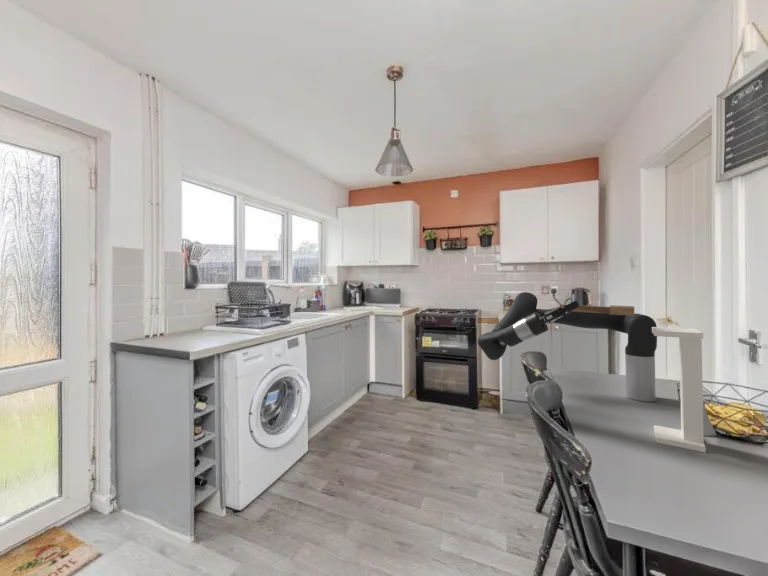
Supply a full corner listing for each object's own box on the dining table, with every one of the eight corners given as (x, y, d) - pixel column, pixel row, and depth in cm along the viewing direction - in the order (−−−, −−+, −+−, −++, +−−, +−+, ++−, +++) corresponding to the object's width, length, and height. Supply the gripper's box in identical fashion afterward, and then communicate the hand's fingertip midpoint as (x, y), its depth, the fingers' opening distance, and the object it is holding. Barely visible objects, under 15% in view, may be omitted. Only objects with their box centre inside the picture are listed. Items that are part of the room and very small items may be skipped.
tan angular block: (561, 309, 114) (561, 303, 114) (633, 313, 102) (633, 306, 102) (558, 311, 108) (558, 304, 108) (634, 315, 97) (634, 307, 97)
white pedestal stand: (654, 429, 101) (651, 326, 101) (698, 438, 95) (696, 328, 95) (657, 442, 93) (654, 330, 93) (705, 452, 87) (703, 333, 87)
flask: (723, 437, 95) (722, 403, 95) (693, 436, 96) (693, 402, 96) (704, 427, 102) (703, 395, 102) (677, 425, 104) (676, 394, 104)
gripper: (539, 333, 121) (586, 311, 113) (531, 339, 110) (582, 315, 101) (528, 316, 124) (573, 293, 115) (519, 319, 112) (568, 294, 104)
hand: (577, 303), depth 108 cm, fingers closed on tan angular block, 2 cm apart
